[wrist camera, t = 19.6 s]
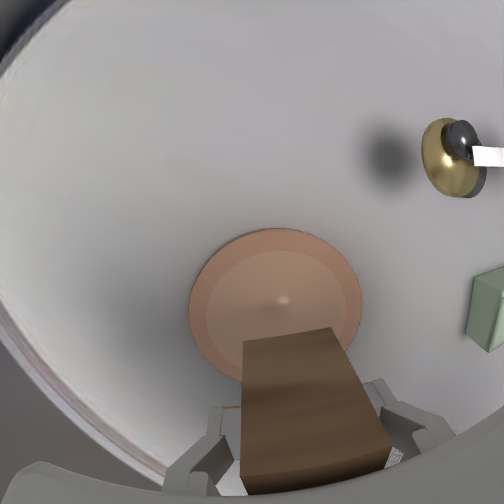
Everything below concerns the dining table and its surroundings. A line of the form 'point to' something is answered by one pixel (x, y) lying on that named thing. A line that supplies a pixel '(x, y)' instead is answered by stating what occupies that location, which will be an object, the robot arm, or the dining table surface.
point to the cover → (487, 310)
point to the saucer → (271, 294)
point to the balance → (457, 158)
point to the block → (305, 415)
